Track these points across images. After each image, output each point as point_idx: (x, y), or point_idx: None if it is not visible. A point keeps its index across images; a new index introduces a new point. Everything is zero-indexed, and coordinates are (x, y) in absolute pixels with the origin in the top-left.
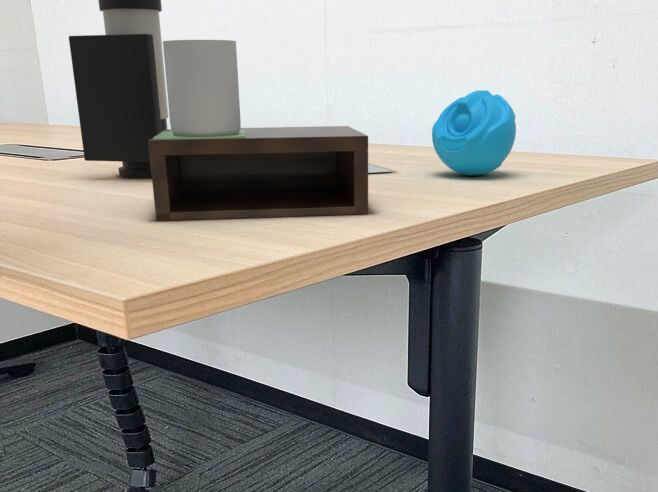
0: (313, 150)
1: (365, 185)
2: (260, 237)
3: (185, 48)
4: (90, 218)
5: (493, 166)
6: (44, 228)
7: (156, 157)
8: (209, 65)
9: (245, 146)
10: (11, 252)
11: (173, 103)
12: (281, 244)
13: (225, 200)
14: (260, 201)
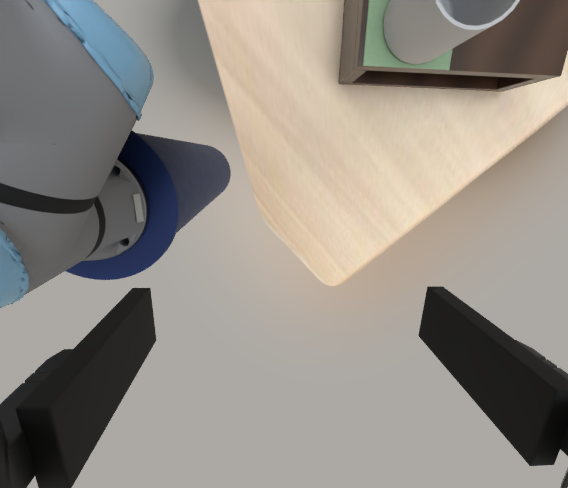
0: (500, 76)
1: (519, 86)
2: (406, 167)
3: (449, 29)
4: (283, 53)
5: None
6: (254, 96)
7: (358, 70)
8: (463, 40)
9: (443, 72)
10: (254, 183)
11: (399, 35)
12: (415, 192)
13: None
14: None
